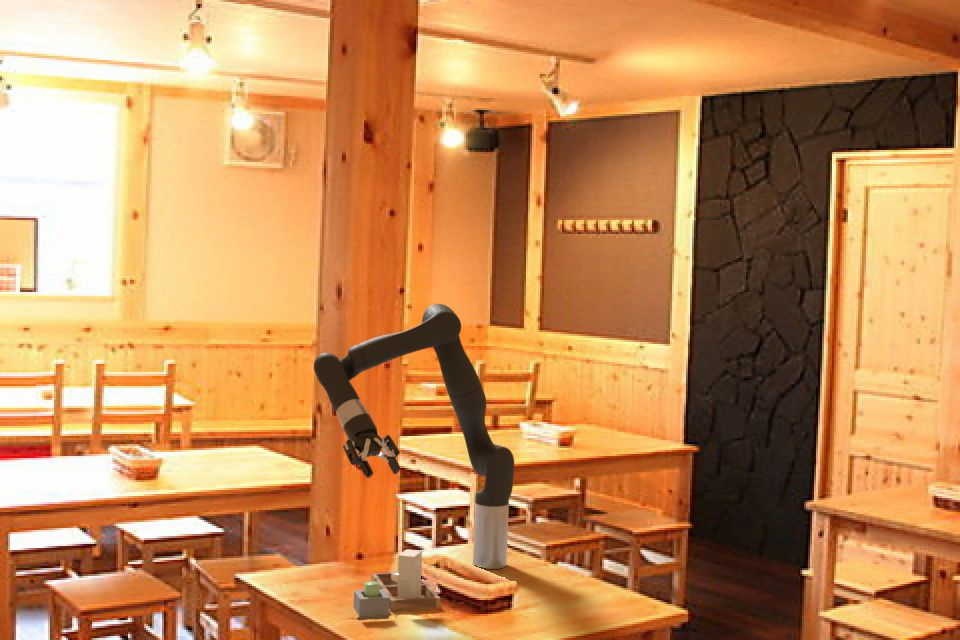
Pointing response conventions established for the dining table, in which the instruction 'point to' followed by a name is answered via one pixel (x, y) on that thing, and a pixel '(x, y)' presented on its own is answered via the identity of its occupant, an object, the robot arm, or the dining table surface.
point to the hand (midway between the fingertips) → (384, 474)
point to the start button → (371, 589)
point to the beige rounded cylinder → (394, 578)
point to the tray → (425, 602)
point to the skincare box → (409, 574)
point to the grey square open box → (371, 605)
